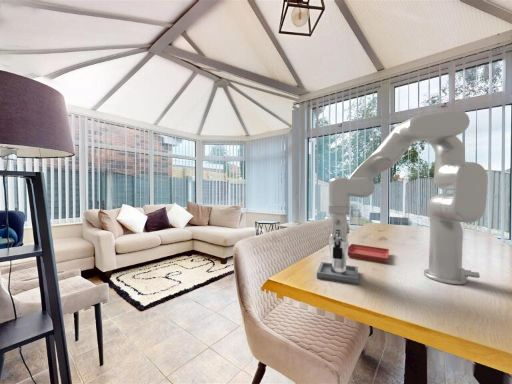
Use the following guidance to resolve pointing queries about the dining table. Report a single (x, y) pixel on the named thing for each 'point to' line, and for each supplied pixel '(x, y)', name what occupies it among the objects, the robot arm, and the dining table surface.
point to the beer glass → (339, 264)
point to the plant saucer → (368, 253)
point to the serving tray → (326, 274)
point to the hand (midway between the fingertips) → (338, 254)
